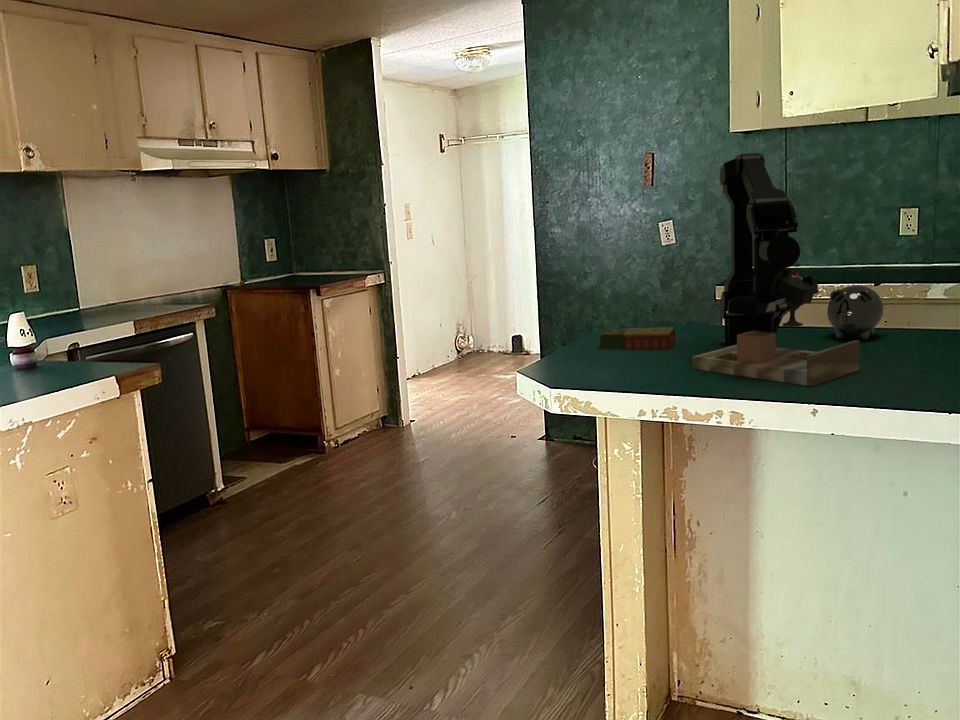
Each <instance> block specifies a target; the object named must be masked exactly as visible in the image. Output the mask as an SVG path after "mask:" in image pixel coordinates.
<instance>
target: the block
mask: <svg viewBox="0 0 960 720" xmlns="http://www.w3.org/2000/svg"><path fill="white" fill-rule="evenodd" d="M776 337H777V335H776V333H772V332H761V331H749V332H745V333H742V334H738V335H737V361H744V362H752V363H760V364H761V363H764V362H767V361H771V360H774V359H776V347H777V346H776V345H777V342H776V341H777V338H776Z"/></svg>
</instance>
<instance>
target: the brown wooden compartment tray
mask: <svg viewBox="0 0 960 720" xmlns="http://www.w3.org/2000/svg"><path fill="white" fill-rule="evenodd" d="M860 345H861V341H860V340H856V339H855V340H851V341H849V342H846V343H844V342H843V343H841V344H839V345H836V346H835V345H834V346H832V347H829V348H826V349H822V350H820V351H811V350H801V349H795V348H794V349H793V348H785V347H777V346H776V359H774V360H771V361H767V362H764V363H761V364H760V363H752V362H744V361H737V345H733V346H730V345H729V346H727V347H723V348H718V349H715V350H712V351H708V352H704V353H701V354H700V353H699V354H698V355H692V370H697V369H698V370H697V371H704V372H712V373H718V374H724V375H732V376H738V377H746V378H753V379H758V380H759V379H760V380H767V381H772V382H778V383H779V382H780V383H784V384H785V383H786V384H793V385H798V386H799V385H800V386H807V387H815V386H817V385H820V384H823V382H824V383H827V382H830V381H832V380H835V379H837V378H840V377H844V376H847V375H849V374H852V373H855V372H857V371H860V351H861V350H860V347H861V346H860Z"/></svg>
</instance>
